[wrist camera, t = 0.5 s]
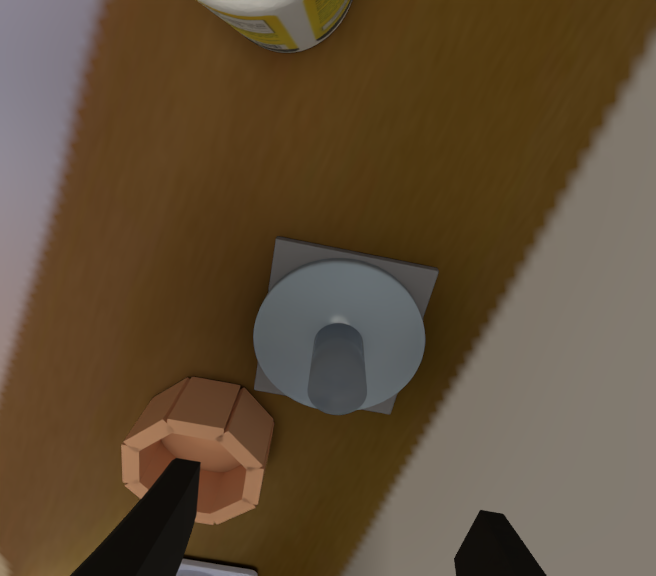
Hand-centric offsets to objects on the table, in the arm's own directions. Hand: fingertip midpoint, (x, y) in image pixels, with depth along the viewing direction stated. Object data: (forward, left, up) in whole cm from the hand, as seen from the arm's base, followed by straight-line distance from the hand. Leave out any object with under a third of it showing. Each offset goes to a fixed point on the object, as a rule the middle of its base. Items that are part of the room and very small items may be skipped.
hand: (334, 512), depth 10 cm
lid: (0, 0, -9) cm, 9 cm away
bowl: (-8, +6, -9) cm, 13 cm away
